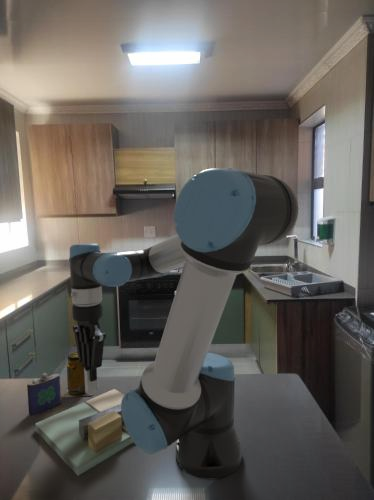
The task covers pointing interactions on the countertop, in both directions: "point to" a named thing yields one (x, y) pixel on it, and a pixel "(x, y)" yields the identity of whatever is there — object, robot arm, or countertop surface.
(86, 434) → the latch bar
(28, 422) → the countertop surface
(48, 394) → the flask
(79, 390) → the condiment
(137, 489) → the countertop surface
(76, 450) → the two-tone base plate
